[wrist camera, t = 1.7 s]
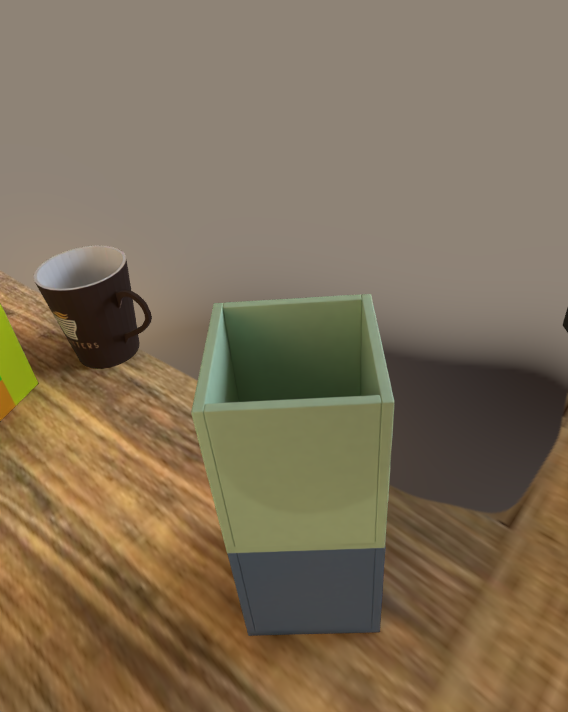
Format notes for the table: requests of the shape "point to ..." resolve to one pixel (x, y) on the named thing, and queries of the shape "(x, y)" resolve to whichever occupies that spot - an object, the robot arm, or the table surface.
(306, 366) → the green basket
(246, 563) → the blue basket
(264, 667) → the table surface
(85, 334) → the coffee mug
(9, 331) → the puzzle toy
